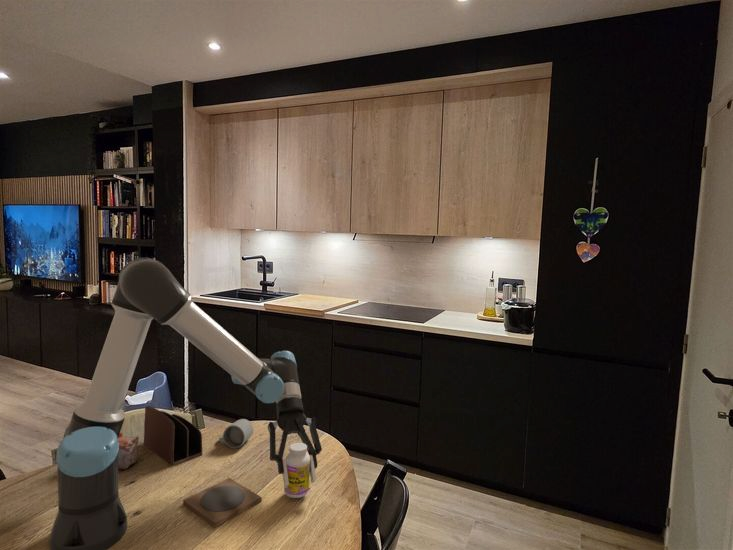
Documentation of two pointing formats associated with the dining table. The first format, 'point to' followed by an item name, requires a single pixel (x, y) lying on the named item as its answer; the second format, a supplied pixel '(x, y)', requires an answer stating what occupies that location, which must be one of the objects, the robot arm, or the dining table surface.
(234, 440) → the ceramic mug
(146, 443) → the letter holder
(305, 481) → the supplement bottle
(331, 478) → the dining table surface
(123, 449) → the food item
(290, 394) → the robot arm
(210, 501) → the dock plate
